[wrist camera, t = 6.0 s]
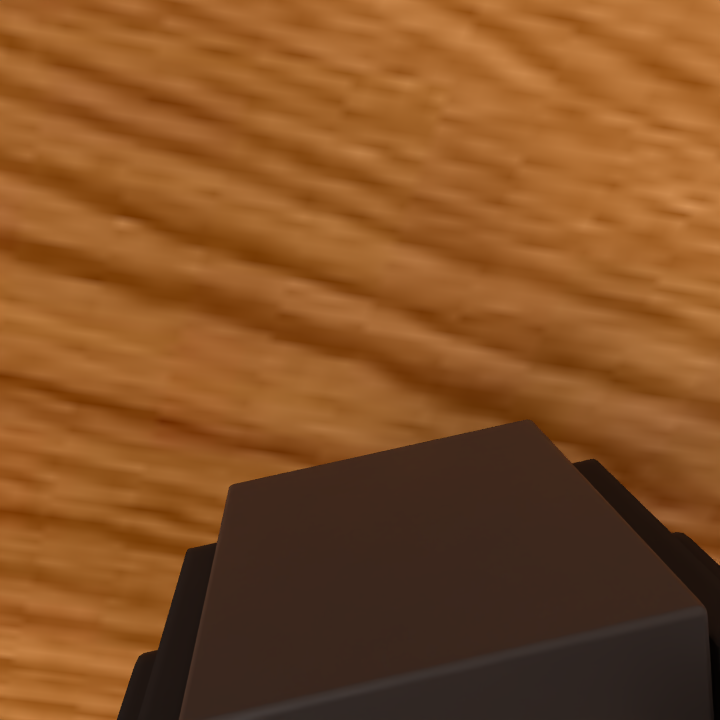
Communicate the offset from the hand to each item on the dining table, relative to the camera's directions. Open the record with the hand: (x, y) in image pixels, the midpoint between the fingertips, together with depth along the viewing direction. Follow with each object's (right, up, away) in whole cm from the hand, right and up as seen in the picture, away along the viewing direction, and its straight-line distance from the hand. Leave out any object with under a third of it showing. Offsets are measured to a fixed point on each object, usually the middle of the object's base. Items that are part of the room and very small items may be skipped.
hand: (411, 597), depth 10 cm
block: (0, 0, 0) cm, 0 cm away
